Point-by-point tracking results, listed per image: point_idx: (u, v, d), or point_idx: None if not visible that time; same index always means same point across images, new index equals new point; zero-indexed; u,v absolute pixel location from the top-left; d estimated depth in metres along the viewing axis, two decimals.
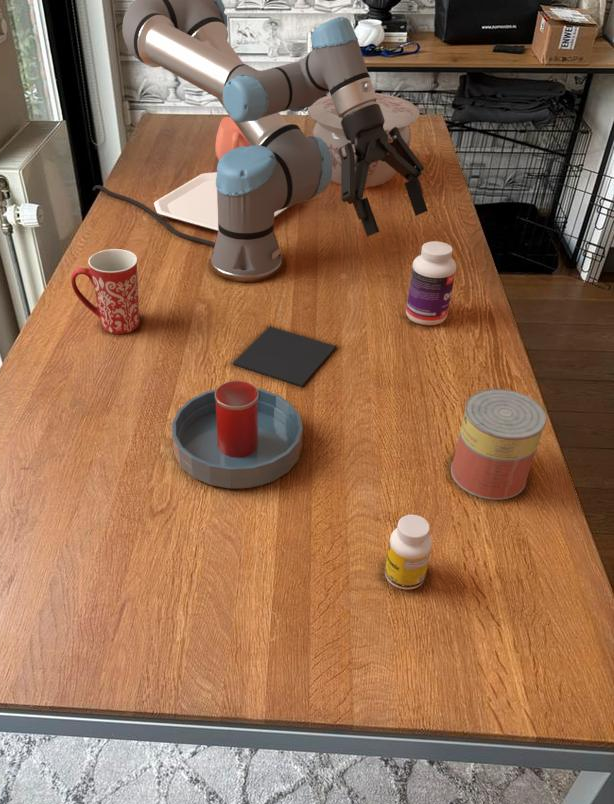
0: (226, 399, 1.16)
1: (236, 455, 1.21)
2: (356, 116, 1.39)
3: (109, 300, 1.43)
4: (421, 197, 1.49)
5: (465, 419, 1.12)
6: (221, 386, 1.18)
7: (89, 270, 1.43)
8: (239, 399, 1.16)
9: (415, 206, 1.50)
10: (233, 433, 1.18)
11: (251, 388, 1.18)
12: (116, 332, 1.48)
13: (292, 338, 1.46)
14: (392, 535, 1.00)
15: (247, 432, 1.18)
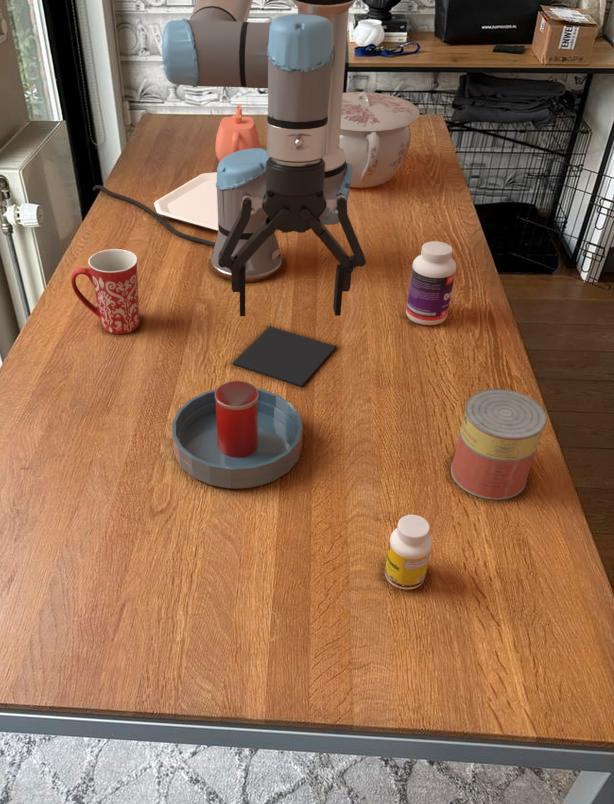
0: (226, 399, 1.16)
1: (236, 455, 1.21)
2: (272, 172, 0.98)
3: (109, 300, 1.43)
4: (337, 297, 1.09)
5: (465, 419, 1.12)
6: (221, 386, 1.18)
7: (89, 270, 1.43)
8: (239, 399, 1.16)
9: (334, 298, 1.11)
10: (233, 433, 1.18)
11: (251, 388, 1.18)
12: (116, 332, 1.48)
13: (292, 338, 1.46)
14: (392, 535, 1.00)
15: (247, 432, 1.18)
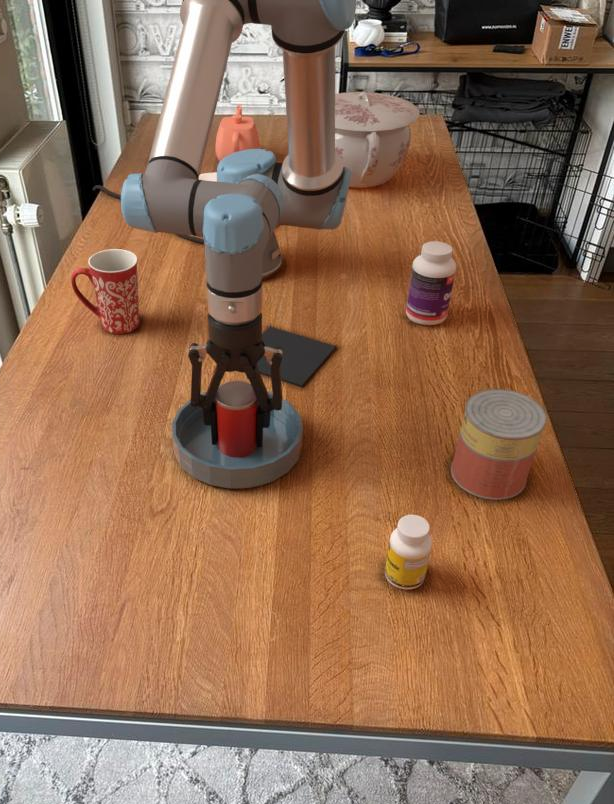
0: (226, 399, 1.16)
1: (236, 455, 1.21)
2: (211, 326, 1.07)
3: (109, 300, 1.43)
4: (258, 433, 1.20)
5: (465, 419, 1.12)
6: (221, 386, 1.18)
7: (89, 270, 1.43)
8: (239, 399, 1.16)
9: None
10: (233, 433, 1.18)
11: (251, 388, 1.18)
12: (116, 332, 1.48)
13: (292, 338, 1.46)
14: (392, 535, 1.00)
15: (247, 432, 1.18)
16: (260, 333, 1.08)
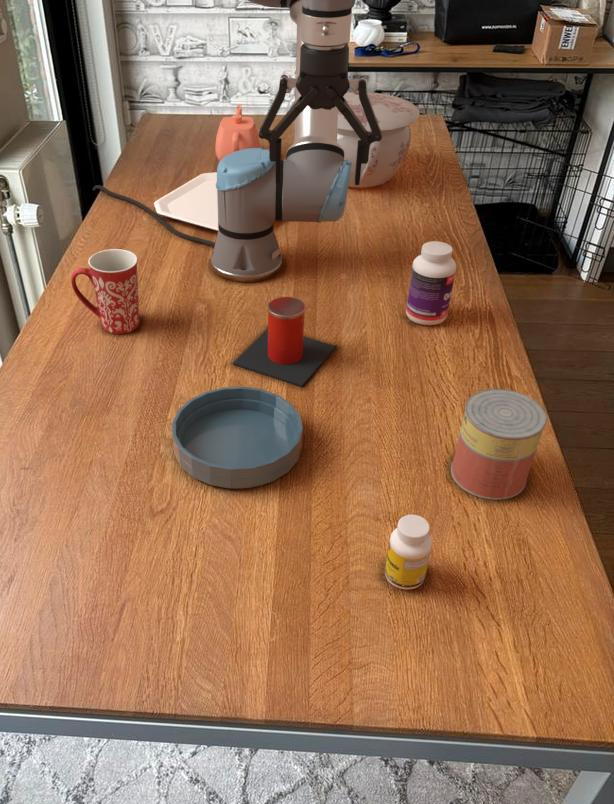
0: (278, 310, 1.34)
1: (284, 362, 1.40)
2: (304, 55, 1.19)
3: (109, 300, 1.43)
4: (357, 168, 1.31)
5: (465, 419, 1.12)
6: (273, 301, 1.37)
7: (89, 270, 1.43)
8: (289, 310, 1.34)
9: (355, 170, 1.33)
10: (283, 341, 1.37)
11: (299, 302, 1.36)
12: (116, 332, 1.48)
13: None
14: (392, 535, 1.00)
15: (295, 341, 1.37)
16: (347, 64, 1.21)
